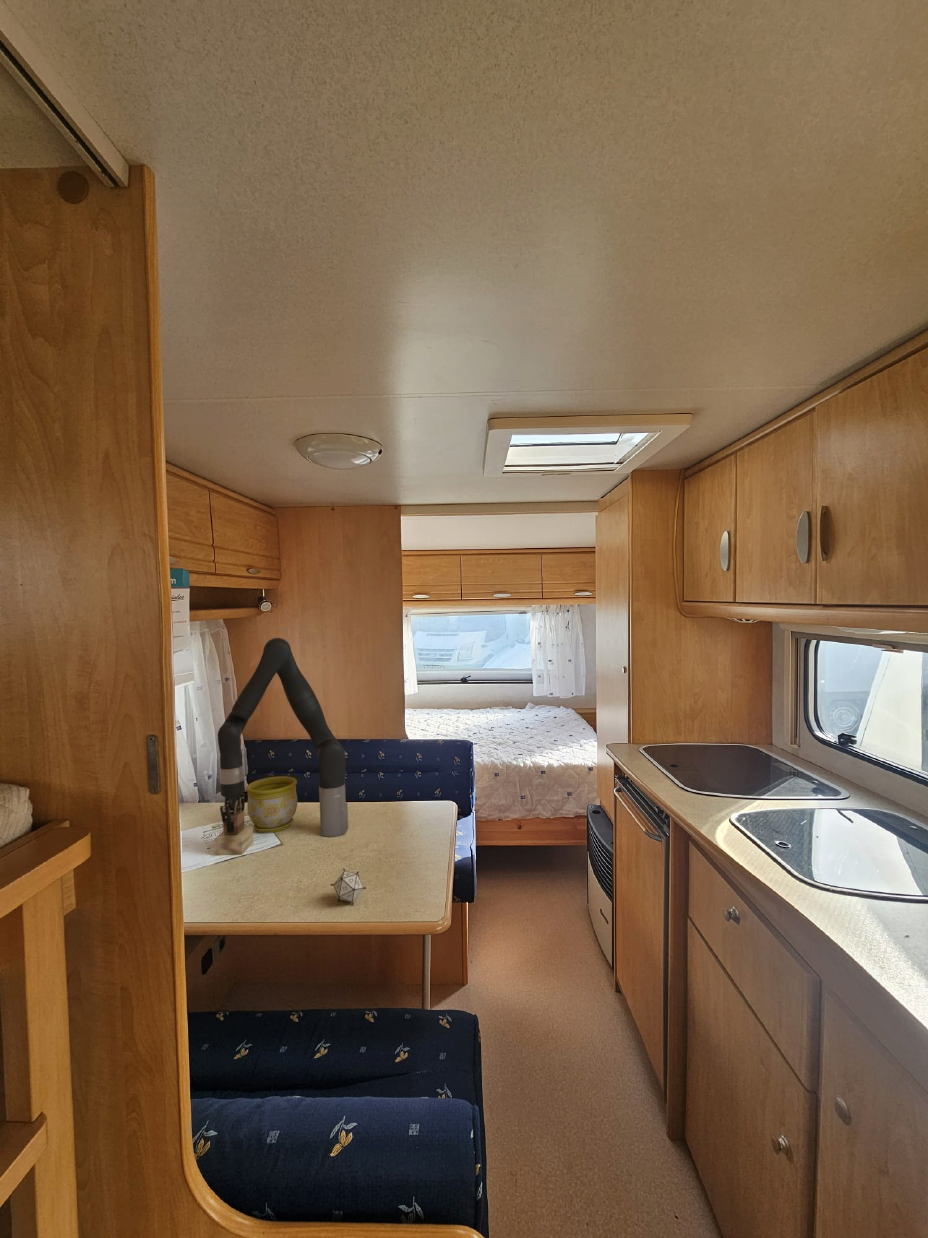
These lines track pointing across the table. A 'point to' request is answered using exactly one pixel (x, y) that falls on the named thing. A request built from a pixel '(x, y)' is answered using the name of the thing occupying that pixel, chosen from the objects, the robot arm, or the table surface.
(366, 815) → the table surface
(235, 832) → the walnut block
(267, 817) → the flowerpot
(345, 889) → the game die
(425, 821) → the table surface
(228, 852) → the oak box
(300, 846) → the table surface
